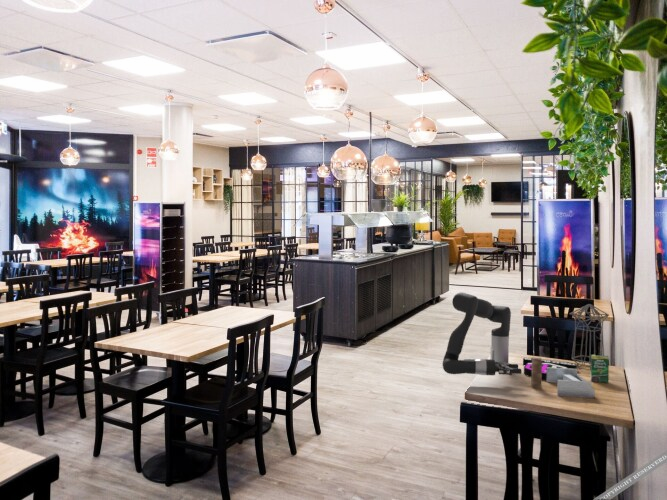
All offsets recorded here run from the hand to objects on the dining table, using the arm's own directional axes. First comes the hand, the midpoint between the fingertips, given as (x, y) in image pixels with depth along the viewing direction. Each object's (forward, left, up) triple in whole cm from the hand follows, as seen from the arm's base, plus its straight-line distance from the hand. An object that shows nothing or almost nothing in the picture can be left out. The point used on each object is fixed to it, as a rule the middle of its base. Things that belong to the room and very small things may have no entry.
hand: (519, 368), depth 254 cm
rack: (+22, 0, -8) cm, 23 cm away
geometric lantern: (+43, +42, -9) cm, 61 cm away
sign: (+19, +28, -9) cm, 35 cm away
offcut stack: (+23, -1, -9) cm, 25 cm away
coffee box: (+41, +16, -9) cm, 45 cm away
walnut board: (+8, 0, -8) cm, 12 cm away
